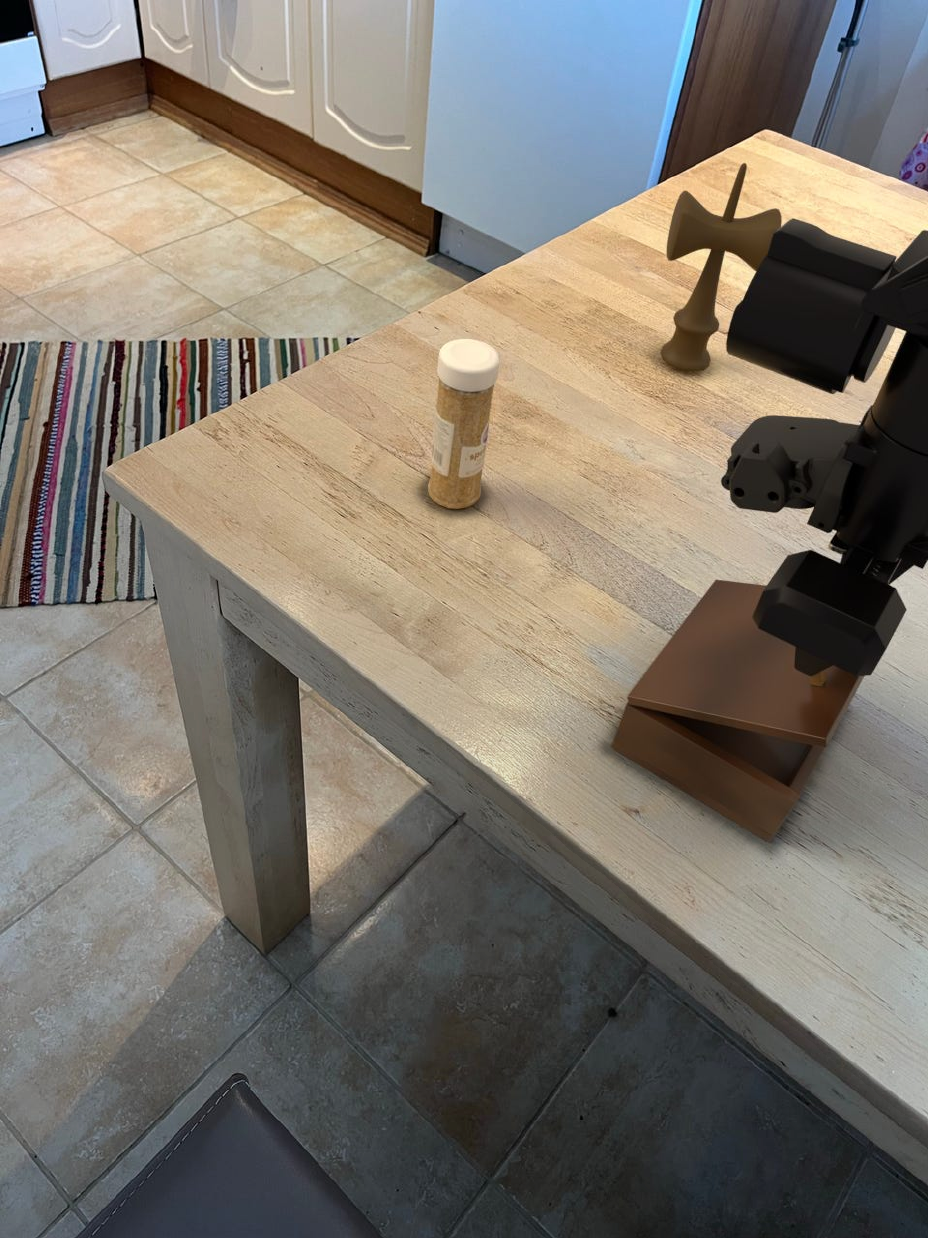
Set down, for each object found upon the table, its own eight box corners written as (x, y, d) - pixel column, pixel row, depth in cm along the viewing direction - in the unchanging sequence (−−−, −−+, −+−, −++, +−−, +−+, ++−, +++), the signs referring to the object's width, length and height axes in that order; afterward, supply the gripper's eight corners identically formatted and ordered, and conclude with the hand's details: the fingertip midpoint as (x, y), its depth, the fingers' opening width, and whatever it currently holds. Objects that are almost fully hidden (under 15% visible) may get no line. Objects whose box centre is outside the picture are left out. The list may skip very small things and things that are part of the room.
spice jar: (481, 512, 78) (502, 372, 69) (426, 509, 78) (439, 368, 68) (479, 477, 82) (498, 337, 72) (426, 474, 81) (438, 333, 71)
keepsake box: (840, 708, 68) (868, 666, 64) (769, 843, 60) (796, 803, 56) (696, 631, 72) (714, 587, 68) (610, 747, 64) (626, 704, 60)
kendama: (637, 339, 100) (689, 140, 85) (729, 354, 99) (796, 158, 84) (636, 370, 95) (690, 167, 81) (731, 386, 95) (802, 185, 80)
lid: (899, 610, 60) (897, 550, 58) (826, 748, 52) (821, 685, 50) (716, 587, 68) (708, 533, 66) (628, 704, 60) (615, 648, 58)
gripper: (836, 298, 54) (756, 509, 65) (698, 448, 43) (630, 671, 54) (1038, 368, 50) (915, 579, 61) (942, 554, 39) (815, 770, 50)
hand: (820, 641), depth 57 cm, fingers closed on lid, 5 cm apart
